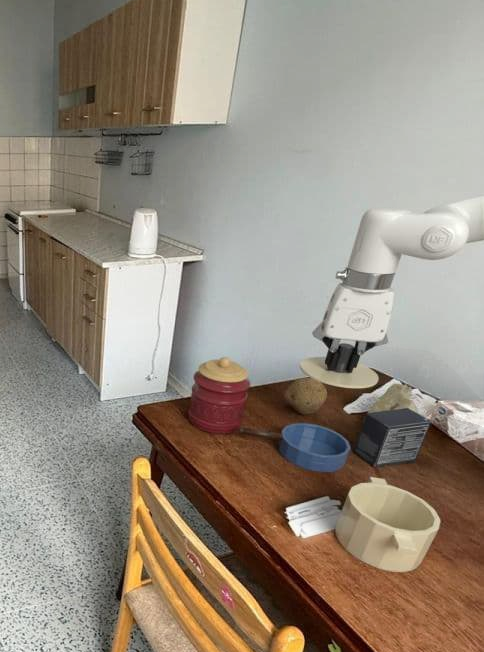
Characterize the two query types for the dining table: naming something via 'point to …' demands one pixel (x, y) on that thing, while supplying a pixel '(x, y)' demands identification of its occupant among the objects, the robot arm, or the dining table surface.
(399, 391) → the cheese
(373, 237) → the robot arm
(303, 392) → the brown lumpy rounded lump
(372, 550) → the pot
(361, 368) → the lid
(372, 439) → the small box
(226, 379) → the kitchen canister
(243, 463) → the dining table surface
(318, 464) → the pan
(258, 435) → the pan handle
